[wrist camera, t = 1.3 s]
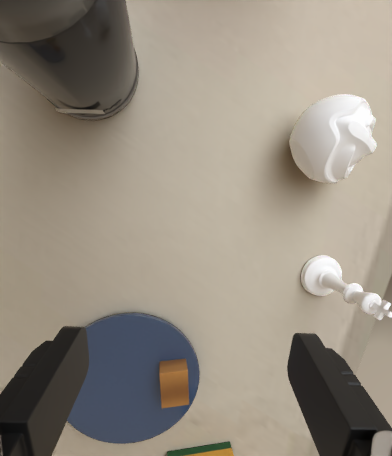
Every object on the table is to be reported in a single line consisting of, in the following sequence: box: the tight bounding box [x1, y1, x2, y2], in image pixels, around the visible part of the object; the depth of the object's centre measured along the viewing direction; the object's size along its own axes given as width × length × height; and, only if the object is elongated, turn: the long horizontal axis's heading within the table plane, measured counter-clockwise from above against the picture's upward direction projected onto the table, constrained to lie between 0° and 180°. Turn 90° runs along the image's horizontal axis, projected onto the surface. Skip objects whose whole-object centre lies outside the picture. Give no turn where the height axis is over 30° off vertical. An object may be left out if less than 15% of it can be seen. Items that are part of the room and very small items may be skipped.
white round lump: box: [289, 94, 377, 183], centre depth 25 cm, size 8×8×8 cm
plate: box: [67, 313, 199, 444], centre depth 30 cm, size 16×16×1 cm
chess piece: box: [301, 255, 392, 320], centre depth 27 cm, size 5×5×10 cm
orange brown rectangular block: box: [159, 359, 189, 408], centre depth 29 cm, size 4×3×2 cm
